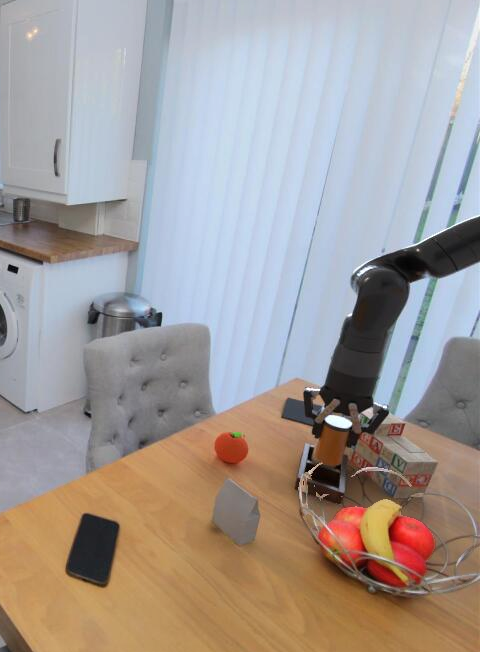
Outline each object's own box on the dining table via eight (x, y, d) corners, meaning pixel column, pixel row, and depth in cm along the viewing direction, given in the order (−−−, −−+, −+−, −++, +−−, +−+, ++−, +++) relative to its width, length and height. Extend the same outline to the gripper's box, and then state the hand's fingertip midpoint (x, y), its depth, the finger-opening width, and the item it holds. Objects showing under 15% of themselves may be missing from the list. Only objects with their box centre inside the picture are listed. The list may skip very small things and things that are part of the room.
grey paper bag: (239, 546, 89) (249, 503, 85) (211, 520, 95) (219, 479, 91) (254, 540, 90) (265, 498, 86) (225, 515, 96) (234, 475, 92)
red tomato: (227, 446, 116) (232, 421, 114) (255, 461, 111) (261, 436, 108) (205, 456, 113) (210, 431, 110) (232, 473, 107) (238, 447, 105)
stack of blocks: (424, 499, 98) (444, 449, 94) (392, 499, 98) (411, 449, 94) (350, 437, 118) (364, 393, 113) (324, 437, 118) (337, 394, 114)
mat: (349, 414, 127) (349, 412, 127) (347, 436, 118) (347, 434, 118) (287, 399, 135) (287, 397, 135) (280, 418, 127) (281, 416, 126)
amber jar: (342, 457, 100) (353, 419, 97) (341, 469, 96) (352, 431, 93) (314, 448, 103) (324, 412, 99) (312, 460, 99) (322, 423, 96)
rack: (344, 467, 108) (347, 455, 107) (340, 506, 97) (344, 493, 96) (301, 454, 113) (305, 442, 111) (293, 490, 102) (297, 477, 101)
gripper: (307, 364, 93) (288, 438, 99) (404, 385, 85) (377, 463, 91) (311, 351, 98) (293, 421, 105) (403, 368, 90) (377, 444, 96)
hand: (332, 440), depth 98 cm, fingers closed on amber jar, 4 cm apart
